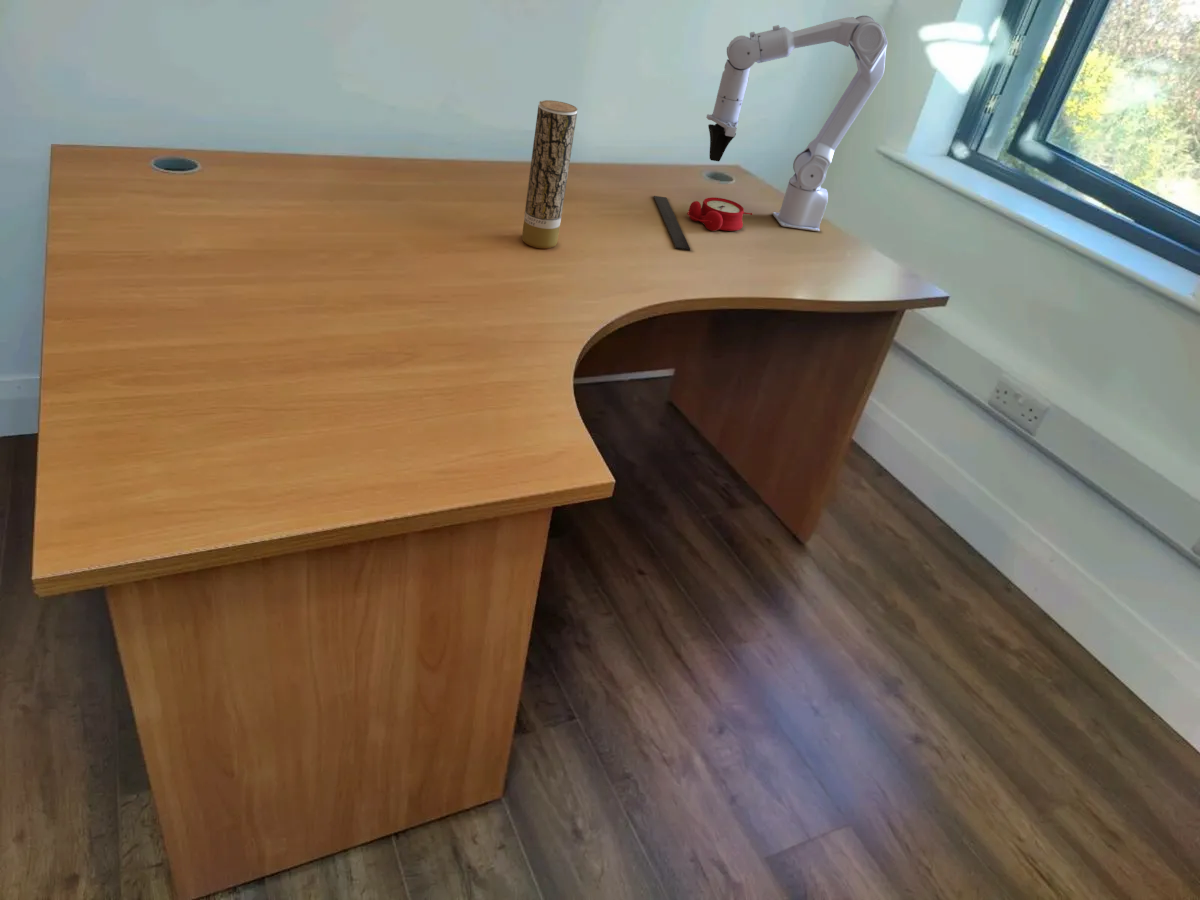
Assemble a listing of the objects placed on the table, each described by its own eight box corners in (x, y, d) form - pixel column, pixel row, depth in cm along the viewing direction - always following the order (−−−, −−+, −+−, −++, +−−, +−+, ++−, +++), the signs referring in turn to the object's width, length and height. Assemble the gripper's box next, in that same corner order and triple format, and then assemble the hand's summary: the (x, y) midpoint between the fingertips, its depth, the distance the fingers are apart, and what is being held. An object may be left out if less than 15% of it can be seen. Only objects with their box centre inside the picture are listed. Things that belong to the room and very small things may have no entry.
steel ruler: (665, 199, 193) (666, 197, 192) (689, 250, 169) (690, 249, 168) (653, 197, 192) (653, 195, 192) (675, 249, 168) (676, 247, 168)
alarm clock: (759, 213, 184) (718, 203, 174) (747, 240, 187) (706, 232, 176) (726, 196, 190) (684, 185, 180) (715, 222, 193) (673, 213, 182)
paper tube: (551, 253, 155) (572, 114, 141) (516, 244, 156) (534, 105, 141) (560, 241, 161) (581, 106, 146) (527, 232, 161) (544, 97, 147)
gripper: (705, 86, 186) (691, 147, 193) (719, 102, 174) (703, 167, 182) (735, 91, 187) (720, 152, 195) (751, 108, 175) (734, 172, 183)
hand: (714, 160), depth 188 cm, fingers closed
